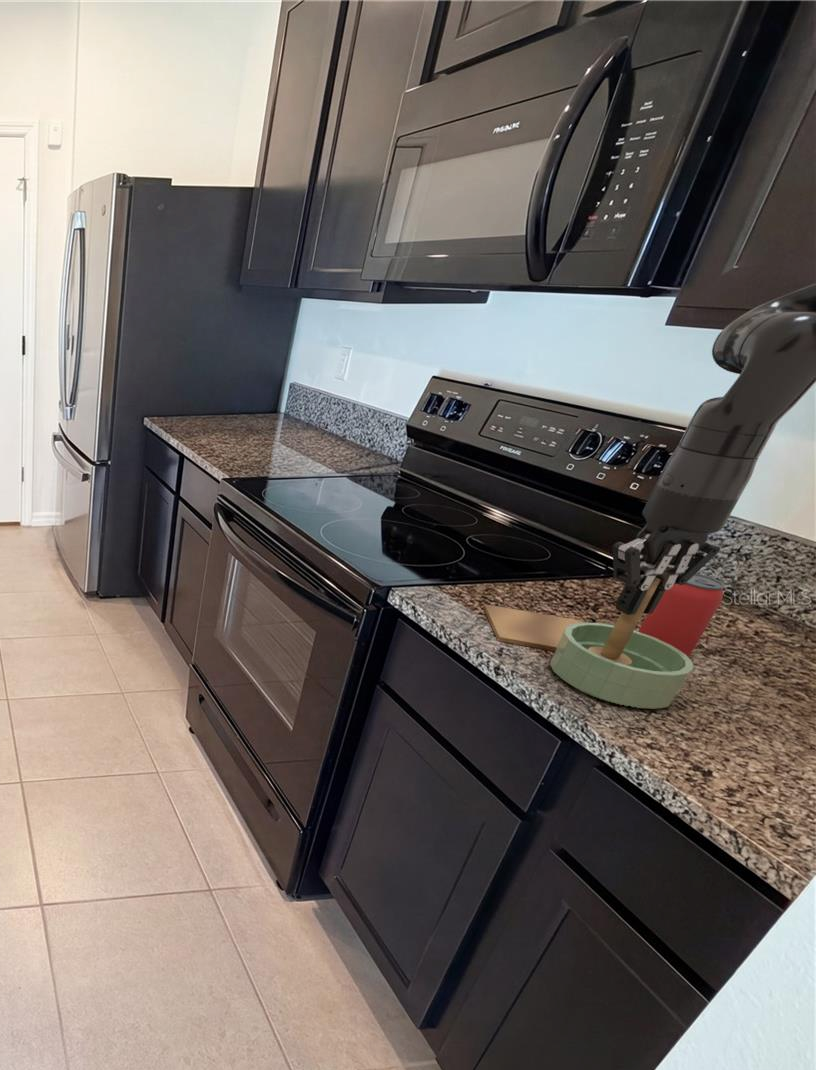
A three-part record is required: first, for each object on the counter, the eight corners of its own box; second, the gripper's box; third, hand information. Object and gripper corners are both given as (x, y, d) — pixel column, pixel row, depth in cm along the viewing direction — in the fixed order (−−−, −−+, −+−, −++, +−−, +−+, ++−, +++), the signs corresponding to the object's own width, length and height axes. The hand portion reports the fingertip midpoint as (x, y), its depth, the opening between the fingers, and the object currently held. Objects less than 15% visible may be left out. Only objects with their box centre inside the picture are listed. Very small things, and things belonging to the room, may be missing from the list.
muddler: (618, 662, 93) (665, 574, 86) (631, 680, 89) (681, 589, 82) (577, 655, 94) (621, 567, 88) (588, 672, 90) (634, 581, 84)
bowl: (647, 669, 96) (667, 634, 93) (690, 722, 84) (714, 684, 82) (537, 649, 100) (553, 615, 97) (564, 697, 89) (582, 660, 86)
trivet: (581, 625, 107) (583, 620, 107) (607, 661, 97) (609, 656, 97) (482, 608, 112) (484, 604, 112) (497, 641, 102) (499, 636, 102)
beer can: (681, 664, 97) (722, 593, 91) (626, 645, 102) (662, 576, 96) (695, 652, 100) (736, 582, 95) (641, 633, 105) (677, 566, 99)
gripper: (680, 498, 75) (613, 627, 83) (781, 496, 77) (706, 623, 85) (619, 479, 82) (563, 600, 90) (714, 477, 84) (650, 596, 92)
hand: (633, 611), depth 87 cm, fingers closed on muddler
